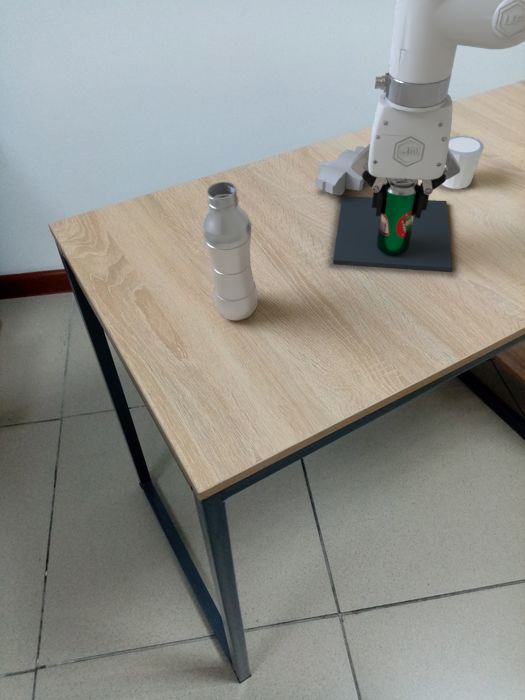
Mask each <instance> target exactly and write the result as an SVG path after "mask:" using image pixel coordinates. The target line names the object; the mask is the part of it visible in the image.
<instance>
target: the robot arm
mask: <svg viewBox="0 0 525 700" xmlns="http://www.w3.org/2000/svg"><path fill="white" fill-rule="evenodd" d="M523 43H525V0H395V7H394V16H393V24H392V33H391V43H390V52H389V61H388V68H387V72H385V74H384V75H381V76H375V82H374V89H378V90H379V89H380V90H381V91H383V93H382V94H381V95H380V97H379V100H378V102H377V105H376V109H375V112H374V118H373V125H372V128H371V135H370V142H369V144H368V145H367V146H366V147H364V148H365V149H364V150H363V151H362V152H361V153H360V154H359V155H358V156H357V157H356V158H355V159H354V160H353V161H352V165H351V168H352V170H354V171H355V172H356V173H357V174H358V175H360V176H361V177H362V178H363V180H364V183H366V184H367V185H368V186H369V187H370V189H371V191H372V198H373V200H372V208H376V216H379V215H380V216H381V209H382V201H383V192H384V189H383V188H384V184H385V182H386V180H387V178H390V179H415V180H418V181H421V182H420V184H419V186H420V189H419V195H418V200H417V206H416V211H415V217H416V218H420V217H421V212H422V210H426V208H427V203H428V200H429V199H430V195H431V194H433V191H434V190H436V189H437V188H439V187H440V186H442V184H443V183H444V182H445V181H446V180H447V179H450V178H451V177H453V176H455V175H457V174H458V173H459V172H460V165H459V163H458V162H457V160H456V159H455V157H454V156H453V154H452V153H451V151H450V150H449V148H448V147H449V140H450V137H451V134H452V133H451V132H452V125H453V124H452V123H453V100H452V97H451V95H449V94H448V93H449V89H450V83H451V78H452V74H453V69H454V63H455V57H456V53H457V48H458V46H463V47H469V48H470V47H471V48H477V49H478V48H479V49H484V50H485V49H486V50H507V49H510V48H513V47H517V46H518V45H520V44H523ZM367 161H368V167H367V166H366V165H365V163H366V162H367ZM445 165H446V167H445Z"/></svg>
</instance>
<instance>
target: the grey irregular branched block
mask: <svg viewBox="0 0 525 700" xmlns="http://www.w3.org/2000/svg"><path fill="white" fill-rule="evenodd" d="M365 148H366V147H365V146H361V145H358V146H356V147H355V149H354V150H350V149H346V150H344V151H342V152H341V153H340V154H339V155H338V156H337V158H336V159H334V160H323V161H320V162H319V163H318V176H317V178H315V188H316V189H319V190H321V191H323V190H324V191H325V192H326V193H329V194H330V195H335V196H343V194H345V193H344V192H345V190H353V191H362V190H363V185H364V183H365V181H364V180H363V178H362V177H361V176H360V175H358V174H357V173H356V172H355V171H354V170H352V168H351V165H352V161H353V160H354V159H355V158H356V157H357V156H358V155H359V154H360V153H361V152H362V151H363V150H364V149H365ZM365 165H366V166H367V167H368V161H367V162H366V163H365Z"/></svg>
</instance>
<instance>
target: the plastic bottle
mask: <svg viewBox="0 0 525 700" xmlns="http://www.w3.org/2000/svg"><path fill="white" fill-rule="evenodd" d="M206 196H207V197H206V198H207V206H208V208H209V209H208V210H207V212H206V214H205V216H204V218H203V220H202V225H201V232H202V237H203V239H204V243H205V245H206V249H207V252H208V255H209V258H210V264H211V267H212V275H213V291H212V297H213V304H214V306H215V309H216V311H217V314H219V315H220V316H221V317H223V318H224V319H226V320H229V321H242V320H245V319H247V318H249V317H250V316H251V315H252V314H253V313H254V312H255V310H256V308H257V306H258V301H259V293H258V289H257V286H256V283H255V281H254V275H253V270H252V264H251V263H252V262H251V240H252V222H251V219H250V217H249V215H248V213H247V212H246V211H245V210H244V208H242V207H241V206H240V205H239V204H240V203H239V202H240V200H239V196H238V190H237V187H236V185H235V184H234V183H232V182H229V181H219V182H215V183H213V184H211V185H209V187H207V190H206Z"/></svg>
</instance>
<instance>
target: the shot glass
mask: <svg viewBox="0 0 525 700" xmlns="http://www.w3.org/2000/svg"><path fill="white" fill-rule="evenodd" d="M448 148H449V150H450V151H451V153H452V154H453V156H454V157H455V159H456V160H457V162H458V163H459V165H460V172H459V173H458V174H457V175H455V176H453V177H451V178H450V179H447V180H446V181H445V182H444V183H443V184H441V186H443V187H446V188H448V189H454V190H461V189H465V188H467V187H469V186H470V185H471V183H472V180H473V178H474V176H475V172H476V169H477V168H478V164H479V162H480V159H481V156H482V155H483V151H484V148H485V146H484V143H483V142H482V141H481V140H480V139H478V138H476V137H473V136H469V135H452V136H450V140H449V147H448ZM445 167H446V165H445Z"/></svg>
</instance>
